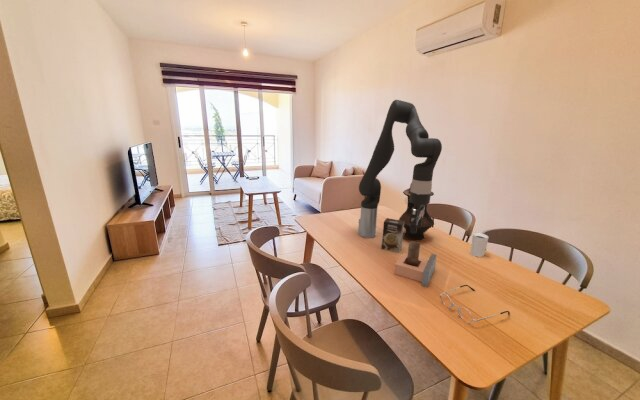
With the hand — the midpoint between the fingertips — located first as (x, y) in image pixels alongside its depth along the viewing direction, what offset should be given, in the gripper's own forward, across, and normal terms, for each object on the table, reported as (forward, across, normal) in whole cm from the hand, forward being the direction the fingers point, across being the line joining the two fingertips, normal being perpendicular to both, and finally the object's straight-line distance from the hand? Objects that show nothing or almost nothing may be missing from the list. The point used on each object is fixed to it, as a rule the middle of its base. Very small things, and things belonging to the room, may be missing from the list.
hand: (415, 229), depth 106 cm
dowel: (+18, 0, 0) cm, 18 cm away
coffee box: (+21, -17, -14) cm, 30 cm away
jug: (+21, -42, -9) cm, 48 cm away
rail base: (+21, 0, -2) cm, 21 cm away
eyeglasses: (+21, +9, +24) cm, 33 cm away
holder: (+19, 0, 0) cm, 19 cm away
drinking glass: (+21, -37, +23) cm, 48 cm away
